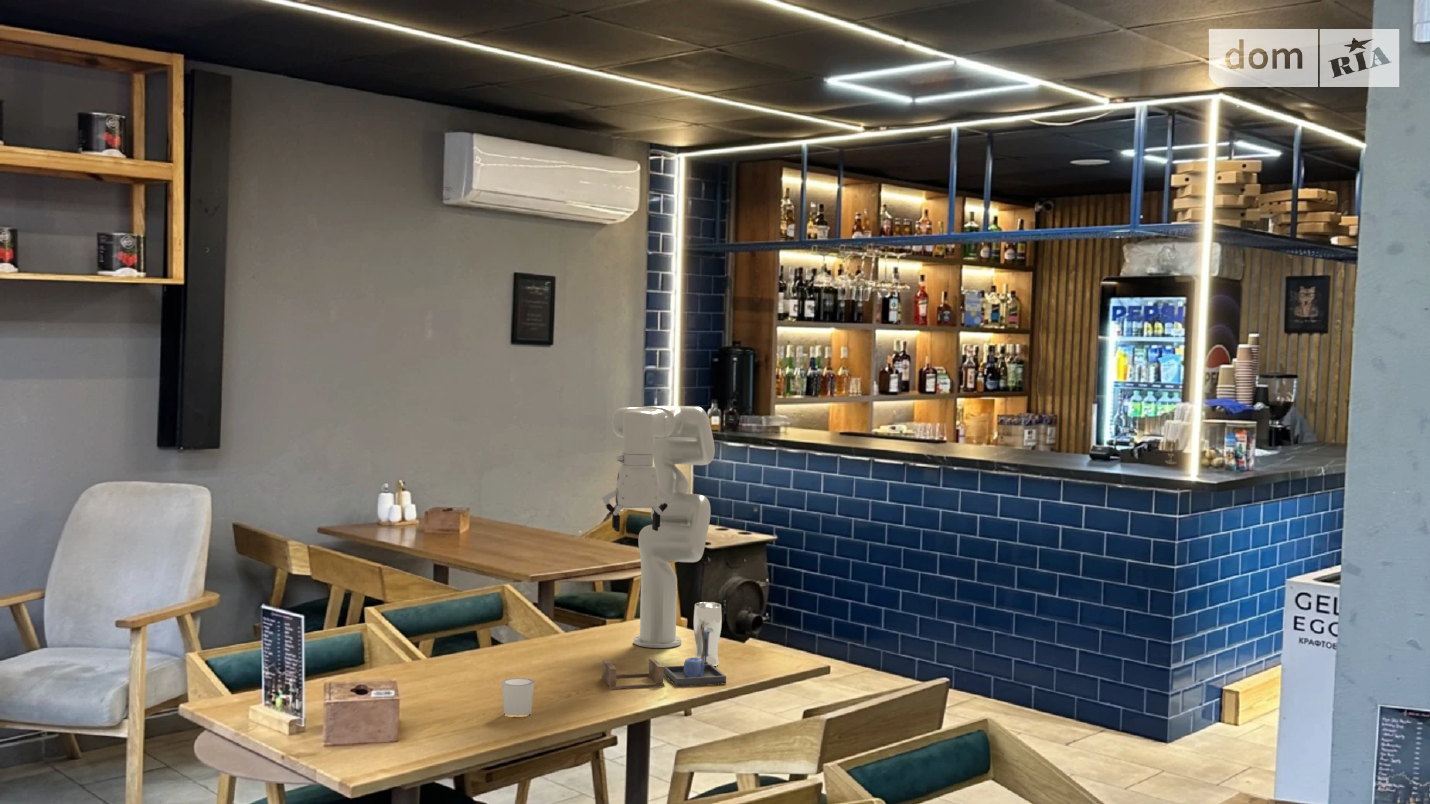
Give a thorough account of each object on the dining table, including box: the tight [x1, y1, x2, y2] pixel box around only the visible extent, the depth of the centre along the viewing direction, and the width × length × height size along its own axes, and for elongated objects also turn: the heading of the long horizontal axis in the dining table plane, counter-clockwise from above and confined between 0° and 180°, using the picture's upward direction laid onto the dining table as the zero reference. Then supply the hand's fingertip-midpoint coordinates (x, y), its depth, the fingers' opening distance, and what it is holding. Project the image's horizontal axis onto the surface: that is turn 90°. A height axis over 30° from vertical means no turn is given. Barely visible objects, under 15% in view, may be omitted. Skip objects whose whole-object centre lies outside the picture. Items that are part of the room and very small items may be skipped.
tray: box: [663, 664, 727, 687], centre depth 307 cm, size 12×12×2 cm
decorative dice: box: [683, 657, 704, 678], centre depth 307 cm, size 4×4×4 cm
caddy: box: [601, 657, 665, 690], centre depth 303 cm, size 11×12×4 cm
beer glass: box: [693, 601, 723, 667], centre depth 321 cm, size 7×7×15 cm
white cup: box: [501, 677, 535, 716], centre depth 274 cm, size 7×7×7 cm
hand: (636, 530), depth 318 cm, fingers open, 9 cm apart
